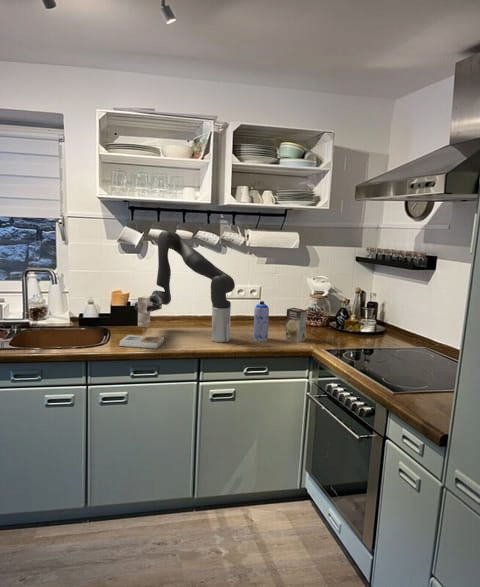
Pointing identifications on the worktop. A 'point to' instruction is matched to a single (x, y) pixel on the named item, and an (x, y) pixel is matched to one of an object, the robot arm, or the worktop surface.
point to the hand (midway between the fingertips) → (142, 309)
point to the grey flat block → (141, 341)
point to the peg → (143, 311)
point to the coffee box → (296, 324)
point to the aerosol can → (261, 322)
